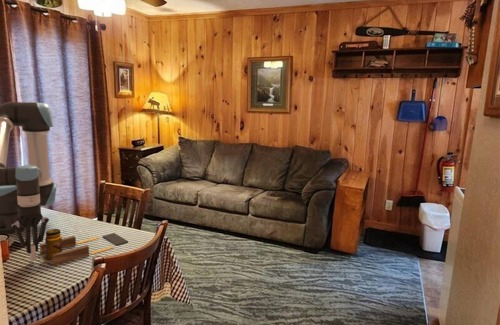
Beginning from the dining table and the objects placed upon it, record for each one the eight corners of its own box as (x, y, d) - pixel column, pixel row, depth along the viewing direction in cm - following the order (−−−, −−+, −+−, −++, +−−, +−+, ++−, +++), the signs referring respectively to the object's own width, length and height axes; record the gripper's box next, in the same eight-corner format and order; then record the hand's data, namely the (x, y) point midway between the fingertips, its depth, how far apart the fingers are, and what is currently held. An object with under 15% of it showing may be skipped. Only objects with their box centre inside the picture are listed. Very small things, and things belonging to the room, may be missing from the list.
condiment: (64, 258, 141) (62, 232, 139) (40, 263, 136) (39, 235, 134) (62, 252, 147) (61, 226, 145) (40, 256, 142) (38, 229, 140)
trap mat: (102, 237, 165) (102, 236, 164) (114, 234, 169) (114, 232, 169) (116, 245, 156) (116, 244, 155) (128, 242, 160) (128, 241, 160)
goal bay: (75, 242, 157) (75, 242, 157) (97, 237, 164) (97, 236, 164) (91, 254, 146) (91, 254, 146) (113, 248, 153) (113, 247, 153)
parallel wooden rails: (40, 252, 145) (39, 244, 144) (74, 243, 156) (73, 235, 155) (53, 265, 135) (53, 256, 134) (89, 254, 145) (88, 246, 145)
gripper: (12, 209, 125) (16, 268, 129) (50, 203, 134) (53, 257, 138) (7, 205, 129) (11, 261, 133) (44, 199, 139) (47, 252, 143)
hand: (33, 259), depth 136 cm, fingers closed
